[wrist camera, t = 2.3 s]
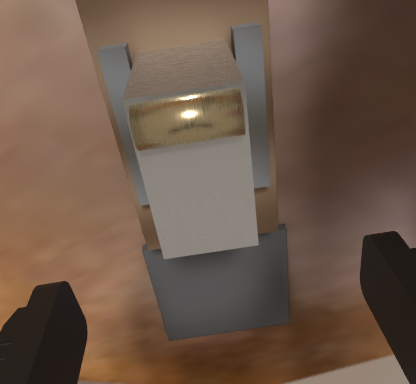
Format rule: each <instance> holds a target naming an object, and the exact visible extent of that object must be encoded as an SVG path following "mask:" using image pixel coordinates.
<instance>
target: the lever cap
mask: <svg viewBox="0 0 416 384" xmlns="http://www.w3.org/2000/svg"><path fill="white" fill-rule="evenodd" d="M122 103H123V107H124V111H125V114H126V118H127V122H128V126H129V129H130V133H131V137H132V141H133V145H134V148H135V152H136V156H137V160H138V163H139V167H140V171H141V175H142V178H143V182H144V186H145V190H146V193H147V197H148V201H149V205H150V208H151V212H152V216H153V220H154V224H155V227H156V231H157V235H158V239H159V242H160V246H161V250H162V254H163V257H164V259H169V258H176V257H183V256H190V255H196V254H203V253H210V252H216V251H223V250H230V249H236V248H243V247H250V246H257V245H259V243H258V231H257V219H256V207H255V195H254V183H253V172H252V160H251V148H250V136H249V124H248V112H247V100H246V88H245V80H244V78H243V76H242V74H241V72H240V69H239V67H238V65H237V63H236V61H235V59H234V57H233V55H232V53H231V51H230V48H229V46H228V44H227V42H226V40H225V39H223V40H216V41H210V42H203V43H197V44H191V45H184V46H178V47H172V48H165V49H159V50H153V51H146V52H140V53H137V54H136V57H135V60H134V63H133V66H132V69H131V72H130V76H129V79H128V82H127V85H126V88H125V91H124V94H123V97H122Z"/></svg>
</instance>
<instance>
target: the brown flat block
mask: <svg viewBox="0 0 416 384" xmlns="http://www.w3.org/2000/svg"><path fill="white" fill-rule="evenodd" d="M76 4H77V7H78V11H79V14H80V18H81V21H82V24H83V28H84V31H85V35H86V38H87V42H88V45H89V49H90V52H91V55H92V59H93V62H94V66H95V69H96V73H97V76H98V80H99V83H100V86H101V90H102V93H103V97H104V100H105V104H106V107H107V110H108V114H109V117H110V121H111V124H112V128H113V131H114V135H115V138H116V141H117V145H118V148H119V152H120V155H121V159H122V162H123V165H124V169H125V172H126V176H127V179H128V183H129V186H130V190H131V193H132V196H133V200H134V203H135V207H136V210H137V214H138V217H139V220H140V224H141V227H142V231H143V234H144V238H145V241H146V245H147V248H148V250H155V249H161V246H160V242H159V239H158V235H157V231H156V227H155V224H154V220H153V216H152V212H151V208H150V205H149V201H148V197H147V193H146V190H145V186H144V182H143V178H142V175H141V171H140V167H139V163H138V160H137V156H136V152H135V148H134V145H133V141H132V137H131V133H130V129H129V126H128V122H127V118H126V114H125V111H124V107H123V103H122V97H123V94H124V91H125V88H126V85H127V82H128V79H129V76H130V72H131V69H132V66H133V63H134V60H135V57H136V54H137V53H140V52H146V51H153V50H159V49H165V48H172V47H178V46H184V45H191V44H197V43H203V42H210V41H216V40H223V39H225V40H226V42H227V44H228V46H229V48H230V51H231V53H232V55H233V57H234V59H235V61H236V63H237V65H238V67H239V69H240V72H241V74H242V76H243V78H244V80H245V88H246V100H247V112H248V124H249V136H250V148H251V160H252V172H253V183H254V195H255V207H256V219H257V231H258V234H262V233H268V232H275V231H279V229H278V207H277V186H276V164H275V142H274V120H273V99H272V77H271V55H270V33H269V12H268V0H76Z"/></svg>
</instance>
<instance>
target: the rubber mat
mask: <svg viewBox="0 0 416 384" xmlns="http://www.w3.org/2000/svg"><path fill="white" fill-rule="evenodd" d="M278 229H279V231H275V232H268V233H262V234H258V243H259V245H257V246H250V247H243V248H236V249H230V250H223V251H216V252H210V253H203V254H196V255H190V256H183V257H176V258H169V259H164V257H163V254H162V250H161V249H155V250H148V248H147V245H143V247H142V252H143V255H144V259H145V262H146V265H147V269H148V272H149V275H150V279H151V282H152V285H153V288H154V292H155V295H156V298H157V302H158V305H159V308H160V312H161V315H162V318H163V322H164V325H165V328H166V331H167V335H168V338H169V341H172V340H179V339H186V338H193V337H199V336H206V335H213V334H220V333H227V332H234V331H241V330H247V329H254V328H261V327H268V326H275V325H282V324H289V294H288V263H287V231H286V227H285V224H281V225H278Z"/></svg>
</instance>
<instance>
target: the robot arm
mask: <svg viewBox="0 0 416 384" xmlns="http://www.w3.org/2000/svg"><path fill="white" fill-rule="evenodd" d="M360 284H361V289H362V293H363V295H364V298H365V300H366V302H367V304H368V306H369V308H370V310H371V311H372V313H373V315H374V317H375V319H376V321H377V323H378V325H379V327H380V328H381V330H382V332H383V334H384V336H385V338H386V340H387V342H388V344H389V345H390V347H391V349H392V351H393V353H394V355H395V357H396V359H397V360H398V362H399V364H400V366H401V368H402V370H403V372H404V374H405V376H406V377H407V379H408V381H409V383H410V384H416V248H412V249H410V248H409V247H408V245H407V244H406V243H405V241H404V240H403V239H402V237H401V236H400V235H399V234H398V233H397V232H395V231H390V232H384V233H377V234H371V235H365V236H364V239H363V246H362V257H361V269H360ZM86 342H87V323H86V319H85V317H84V314H83V312H82V310H81V308H80V306H79V304H78V302H77V299H76V297H75V295H74V293H73V291H72V289H71V287H70V285H69V283H68V282H66V281H62V282H56V283H49V284H43V285H38V286H36V287H35V288H34V290H33V292H32V295H31V297H30V299H29V302H28V304H27V307H23V308H18V309H17V310H16V311H15V313H14V314H13V315H12V316H11V317H10V318H9V320H8V321H7V322H6V323H5V324H4V325H3V327H2V330H1V332H0V384H77V382H78V378H79V373H80V369H81V364H82V360H83V356H84V351H85V347H86Z"/></svg>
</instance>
